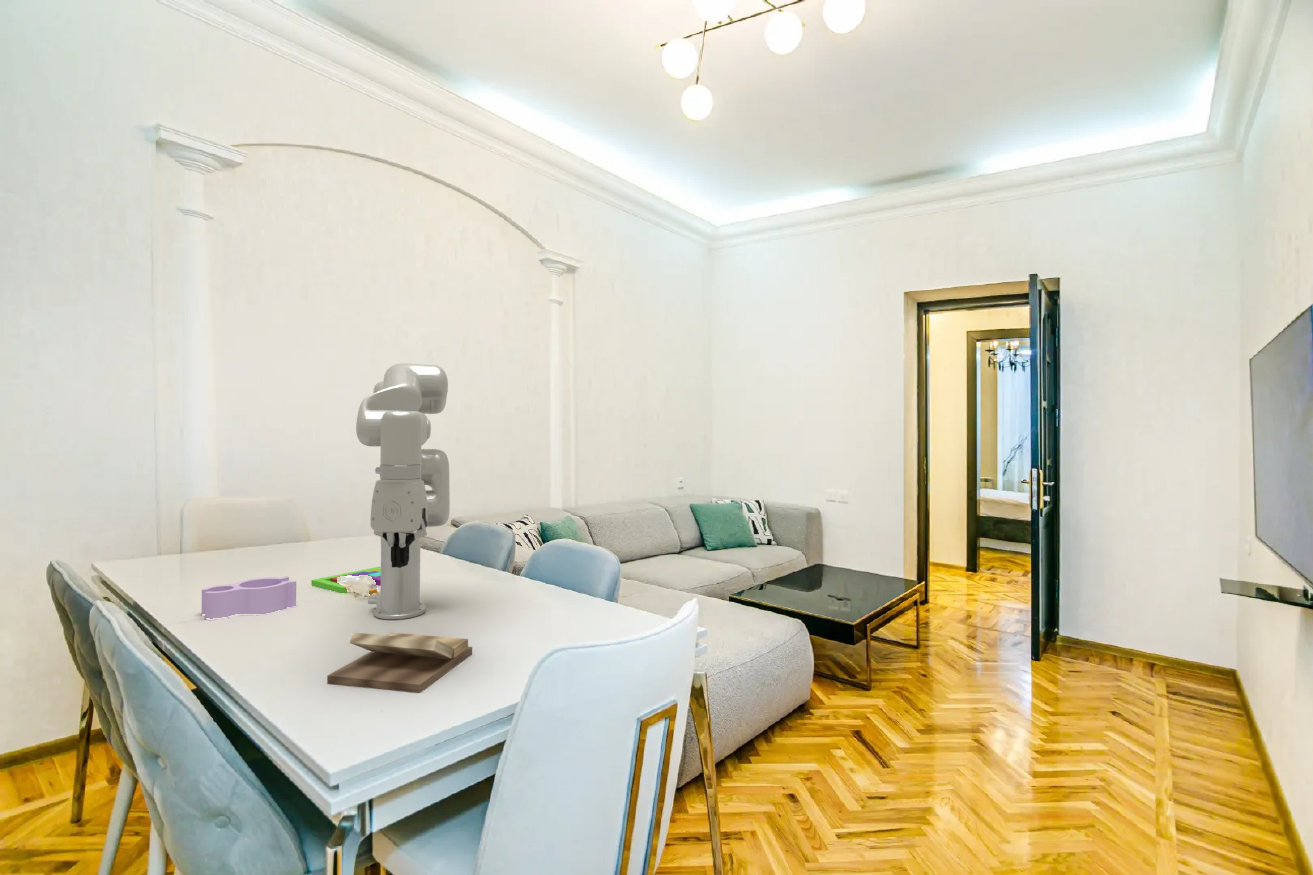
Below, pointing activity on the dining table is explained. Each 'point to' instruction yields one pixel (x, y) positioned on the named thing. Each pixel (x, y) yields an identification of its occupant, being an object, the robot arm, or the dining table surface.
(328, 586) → the toy blocks
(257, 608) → the lilac rounded hollowed piece
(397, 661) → the floor board
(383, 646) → the hinged plank
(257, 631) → the dining table surface
